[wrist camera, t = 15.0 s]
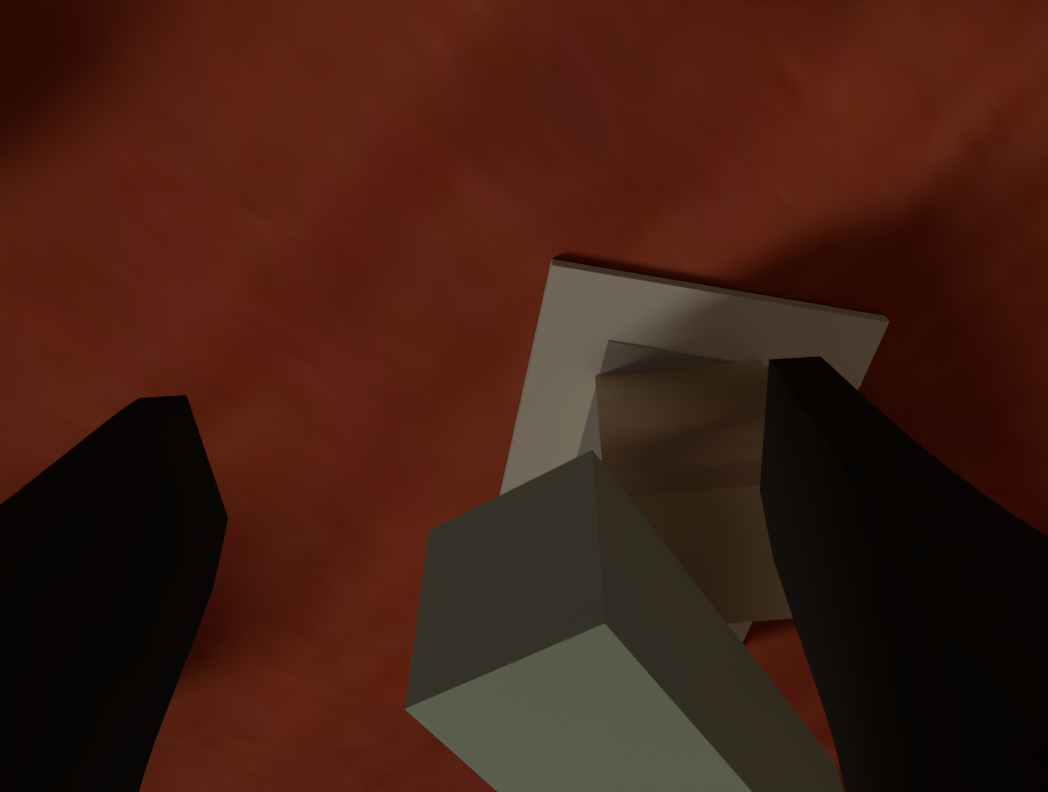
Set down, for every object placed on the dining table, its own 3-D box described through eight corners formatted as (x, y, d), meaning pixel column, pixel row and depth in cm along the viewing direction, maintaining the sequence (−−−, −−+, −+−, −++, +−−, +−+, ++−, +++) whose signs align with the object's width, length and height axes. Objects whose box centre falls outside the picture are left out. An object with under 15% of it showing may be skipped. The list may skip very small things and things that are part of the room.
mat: (885, 315, 23) (889, 323, 23) (705, 714, 32) (706, 723, 31) (551, 259, 22) (551, 266, 22) (458, 682, 31) (457, 691, 31)
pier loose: (762, 360, 24) (803, 481, 20) (760, 488, 26) (797, 618, 22) (594, 376, 24) (605, 498, 20) (607, 501, 26) (618, 631, 22)
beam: (592, 449, 19) (604, 623, 16) (834, 762, 25) (886, 945, 21) (428, 530, 21) (404, 708, 17) (694, 811, 26) (719, 990, 23)
